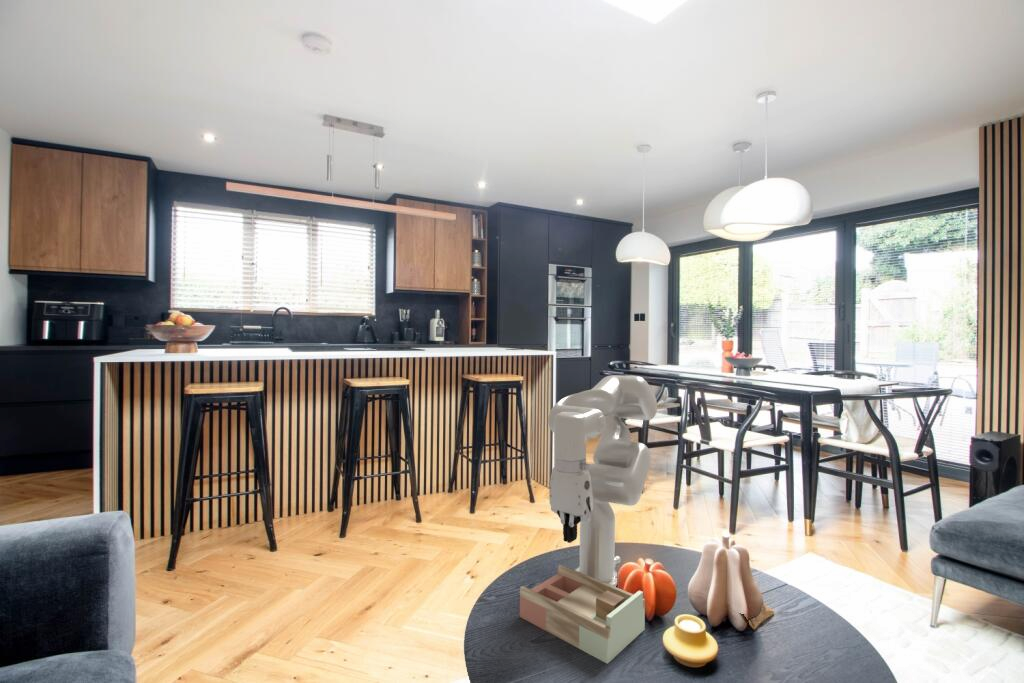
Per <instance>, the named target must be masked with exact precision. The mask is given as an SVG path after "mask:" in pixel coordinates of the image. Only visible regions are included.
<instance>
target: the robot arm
mask: <svg viewBox="0 0 1024 683" xmlns="http://www.w3.org/2000/svg"><path fill="white" fill-rule="evenodd" d="M657 401H658V400H657V398H656V395H655V393H654V391H653V390H652V388H651V386H650V384H649V383H648V382H647V380H645V379H644V378H643V377H642V376H636V375H635V376H634V375H620V374H619V375H616V374H615V375H614V374H613V375H607V376H605V377H603V378H602V379H601V380H599V382H597V383H596V384H595V385H594V386H593V387H592V388H591V389H589V390H584V391H583V390H582V391H580V392H578V393H573V394H570V395H567V396H565V397H563V398H561V399H560V400H558V401H557V402H556V403H555V404H554V405H553V406H552V407H551V410H550V411H549V414H548V418H547V420H548V421H547V424H548V427H549V429H550V431H551V432H553V435H554V436H553V441H554V442H553V452H554V453H553V454H554V456H553V462H554V463H553V464H554V465H553V468H552V470H551V475H550V480H549V492H548V494H549V496H548V497H549V499H548V500H549V506H550V510H551V511H552V512H553V513H555V514H556V515H557V516H558V517H559V519H560V523H561V524H562V534H563V535H562V536H563V541H564V542H567V543H569V544H571V543H573V542H574V541H576V540H577V538H578V525H579V566H578V567H577V568H575V569H574V570H575V571H578V572H580V573H582V574H585V575H587V576H590V577H592V578H595V579H597V580H600V581H602V582H605V583H607V584H609V585H612V586H614V587H616V584H617V573H618V572H617V571H616V566H617V565H618V564H620V563H621V562H622V559H621V556H619V555H615V553H616V552H615V551H616V550H615V548H616V543H615V542H616V541H615V540H616V517H615V513H614V510H613V508H612V506H611V503H612V504H617V505H621V506H622V505H623V506H630V507H631V506H635V505H637V504H638V503H639V501H640V499H641V497H642V494H643V491H644V487H645V484H646V481H647V477H648V474H649V471H650V465H651V454H650V453H651V452H650V449H649V447H648V446H647V445H646V444H644V443H643V442H638V441H632V440H631V439H632V434H631V431H630V430H629V428H628V426H627V425H626V424H625V423H624V422H623V421H622V420H621V419H628V420H630V419H631V420H638V421H639V420H641V421H651V420H652V419H654V418H655V417H656V414H657V411H658V403H657ZM598 437H600V438H599V440H598V443H597V445H596V447H595V449H594V452H593V456H592V460H593V463H587V449H586V448H587V441H588V440H593V439H597V438H598Z"/></svg>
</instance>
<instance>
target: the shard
mask: <svg viewBox="0 0 1024 683" xmlns="http://www.w3.org/2000/svg"><path fill="white" fill-rule="evenodd" d="M762 604H763V603H762ZM774 614H775V611H774V610H773V609H771V607H769V606H767V605H766V604H763V609H762V611H761V613H760V614H759V615H758V616H757V617H756V618H753V619H751V620H749V624H748V625H749V626H750V627H751V628H752V629H753V630H756V629H757V628H758V627H759V626H760V625H761V624H762V623H763V622H764V621H766V620H767V619H768V618H770V617H772V616H773V615H774Z"/></svg>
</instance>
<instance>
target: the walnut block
mask: <svg viewBox="0 0 1024 683" xmlns="http://www.w3.org/2000/svg"><path fill="white" fill-rule="evenodd" d="M624 602H625V598H624V597H621V596H619V595H617V594H614V593H612V592H610V591H605V592H604V593H603V594H601V595H600V596H598V597H597V598H596V616H597V617H599V618H601V619H603V620H605V621H606V616H607V615H608V614H610V613H611V612H612V611H613V610H615V609H616V608H617V607H618V606H620V605H621V604H622V603H624Z"/></svg>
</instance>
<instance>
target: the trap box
mask: <svg viewBox="0 0 1024 683" xmlns="http://www.w3.org/2000/svg"><path fill="white" fill-rule="evenodd" d="M557 569H558V570H557V574H555V575H553V576H552V577H549V578H548V579H546V580H544V581H543V582H541V583H540V584H538V585H536V586H535V587H533V588H531V589H530V588H528V587H526V586H524V585H521V586H519V618H520V619H523V620H525V621H527V622H529V623H531V624H532V625H534V626H536V627H538V628H540V629H542V630H544V631H545V632H548V633H549V634H551V635H553V636H555V637H557V638H558V639H560V640H562V641H564V642H567V643H568V644H570V645H572V646H573V647H575V648H577V649H578V650H581V651H583V652H584V653H586V654H588V655H590V656H593V657H594V658H596V659H598V660H599V661H601V662H603V663H605V664H606V665H607V664H609V663H610V662H611V661H613V660H614V659H615V657H617V656H618V655H619V654H620V653H621V652H622V651H623V650H625V649H626V647H627V646H628V645H629V644H631V643H632V642H633V641H634V640H635V639H636V638H638V636H639V635H640V634H642V633H643V631H645V629H646V628H645V626H646V625H645V624H646V622H645V621H646V619H645V618H646V616H645V615H646V598H644V591H641V590H638V591H636V592H635V593H631V592H628V591H627V590H624V589H622V588H619V587H618V586H617V587H614V586H612V585H609V584H607V583H605V582H602V581H600V580H597V579H595V578H592V577H590V576H587V575H585V574H582V573H580V572H578V571H575V570H576V569H572V568H569V567H567V566H565V565H563V564H559V565H558V567H557ZM605 591H610V592H612V593H614V594H617V595H619V596H621V597H624V598H625V602H624V603H622V604H621V605H620V606H618V607H617V608H616V609H615V610H613V611H612V612H611V613H610V614H608V615H607V616H606V621H605V620H603V619H601V618H599V617H597V616H596V598H597V597H598V596H600V595H601V594H603V593H604V592H605Z"/></svg>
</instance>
